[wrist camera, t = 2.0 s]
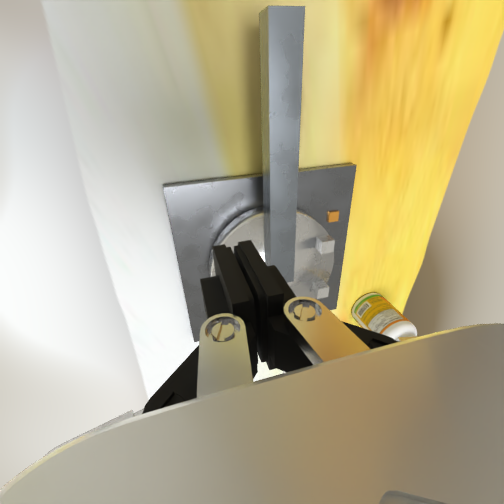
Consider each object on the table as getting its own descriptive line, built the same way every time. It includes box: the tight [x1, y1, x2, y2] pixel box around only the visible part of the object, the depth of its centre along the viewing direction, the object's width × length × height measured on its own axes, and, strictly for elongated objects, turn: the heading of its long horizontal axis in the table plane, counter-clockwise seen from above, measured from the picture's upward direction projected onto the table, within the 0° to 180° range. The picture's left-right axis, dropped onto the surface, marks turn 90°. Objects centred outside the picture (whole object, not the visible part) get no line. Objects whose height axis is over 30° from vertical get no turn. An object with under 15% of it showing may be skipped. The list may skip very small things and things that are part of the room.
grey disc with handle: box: [208, 6, 335, 299], centre depth 27 cm, size 29×14×4 cm, turn 3°
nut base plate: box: [163, 163, 356, 342], centre depth 33 cm, size 20×20×1 cm
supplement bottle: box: [352, 293, 417, 341], centre depth 39 cm, size 5×5×10 cm
